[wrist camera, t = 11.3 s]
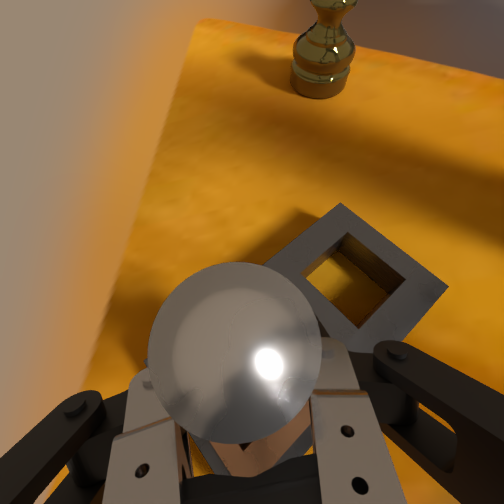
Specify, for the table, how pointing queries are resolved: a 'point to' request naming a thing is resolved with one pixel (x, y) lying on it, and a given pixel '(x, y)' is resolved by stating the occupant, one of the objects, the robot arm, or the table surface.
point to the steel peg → (234, 353)
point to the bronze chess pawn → (323, 52)
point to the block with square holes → (335, 321)
